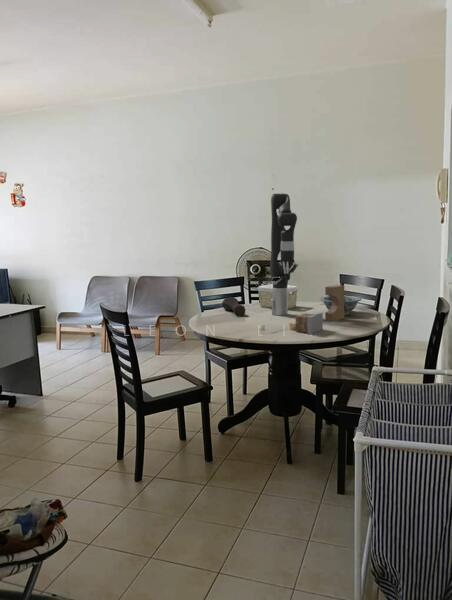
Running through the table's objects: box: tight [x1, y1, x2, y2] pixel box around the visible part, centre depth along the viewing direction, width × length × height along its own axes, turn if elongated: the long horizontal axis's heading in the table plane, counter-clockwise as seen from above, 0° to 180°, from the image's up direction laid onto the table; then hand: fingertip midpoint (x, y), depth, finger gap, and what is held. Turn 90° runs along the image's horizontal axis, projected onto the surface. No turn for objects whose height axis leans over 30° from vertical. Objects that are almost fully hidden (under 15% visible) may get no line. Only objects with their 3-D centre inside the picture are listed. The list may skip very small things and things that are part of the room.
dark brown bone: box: [221, 296, 246, 317], centre depth 317 cm, size 11×10×28 cm
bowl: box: [320, 295, 362, 316], centre depth 302 cm, size 25×25×10 cm
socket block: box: [294, 312, 315, 333], centre depth 257 cm, size 8×10×8 cm
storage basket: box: [257, 283, 299, 309], centre depth 333 cm, size 24×16×15 cm
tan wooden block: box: [289, 321, 297, 332], centre depth 259 cm, size 10×4×4 cm, turn 53°
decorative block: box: [324, 284, 345, 322], centre depth 282 cm, size 11×6×20 cm, turn 124°
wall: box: [306, 312, 324, 335], centre depth 254 cm, size 2×14×9 cm, turn 144°
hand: (287, 280), depth 270 cm, fingers closed
